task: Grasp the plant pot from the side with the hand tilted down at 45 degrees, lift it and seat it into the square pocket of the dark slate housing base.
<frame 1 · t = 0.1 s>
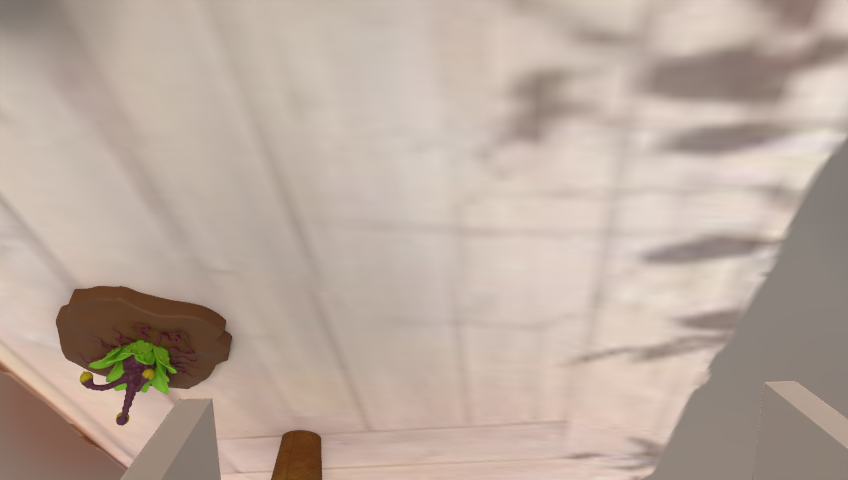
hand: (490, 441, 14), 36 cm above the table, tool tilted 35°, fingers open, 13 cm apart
plant: (148, 332, 77), on the table
disposable coffee cup: (301, 436, 101), on the table
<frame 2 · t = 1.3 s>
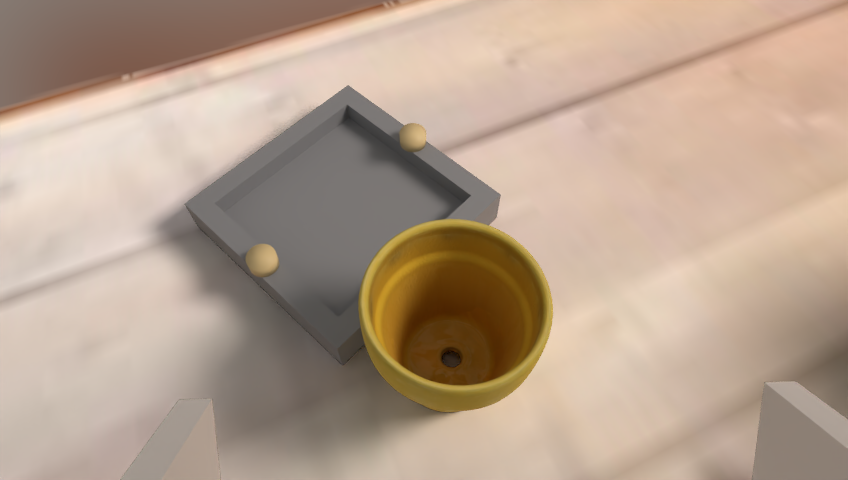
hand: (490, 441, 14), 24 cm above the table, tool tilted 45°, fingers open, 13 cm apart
plant pot: (449, 362, 41), on the table
housing base: (347, 222, 46), on the table
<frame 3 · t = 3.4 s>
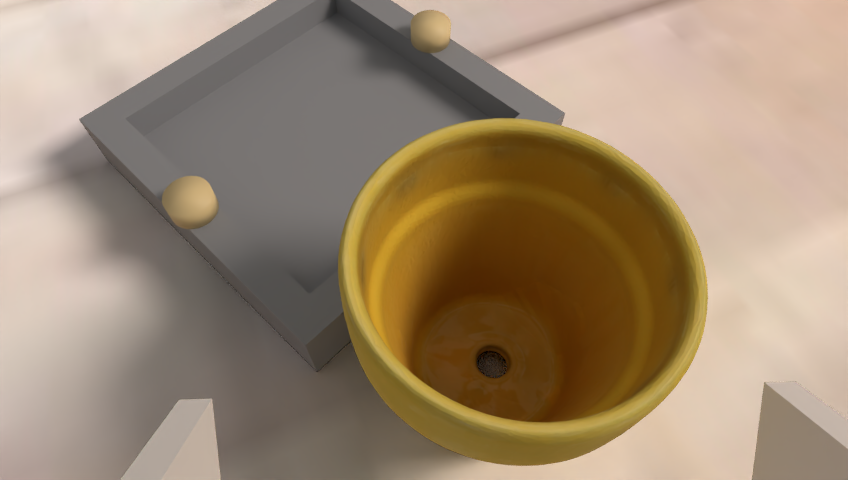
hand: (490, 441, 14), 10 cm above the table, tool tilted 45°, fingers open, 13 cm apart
plant pot: (487, 370, 25), on the table
housing base: (331, 156, 31), on the table
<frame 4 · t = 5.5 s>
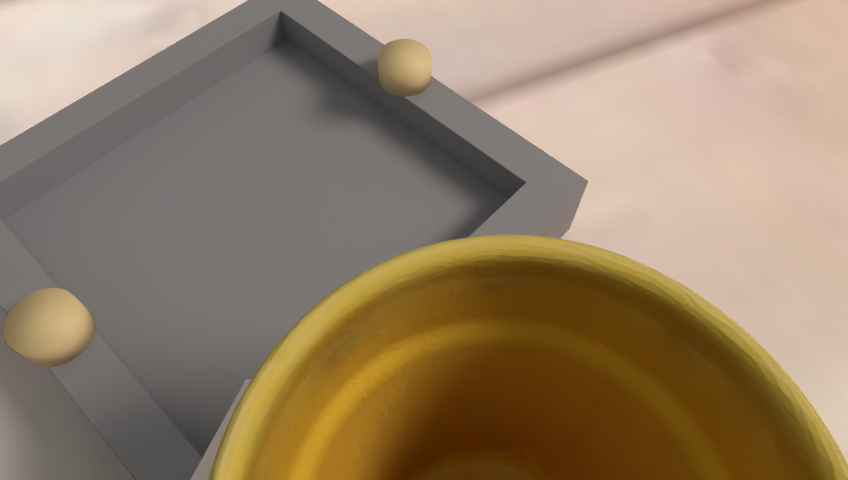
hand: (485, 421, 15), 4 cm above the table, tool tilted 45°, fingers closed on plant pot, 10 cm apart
housing base: (273, 235, 23), on the table
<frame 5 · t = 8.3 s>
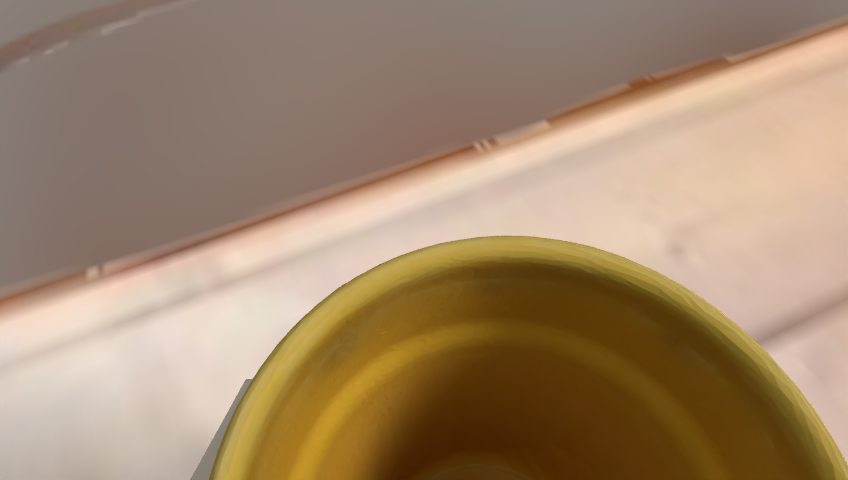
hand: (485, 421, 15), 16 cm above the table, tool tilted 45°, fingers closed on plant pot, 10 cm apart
when the fingers open (7 cm above the table, at t = 10.9 s): plant pot drops 1 cm, resting on housing base.
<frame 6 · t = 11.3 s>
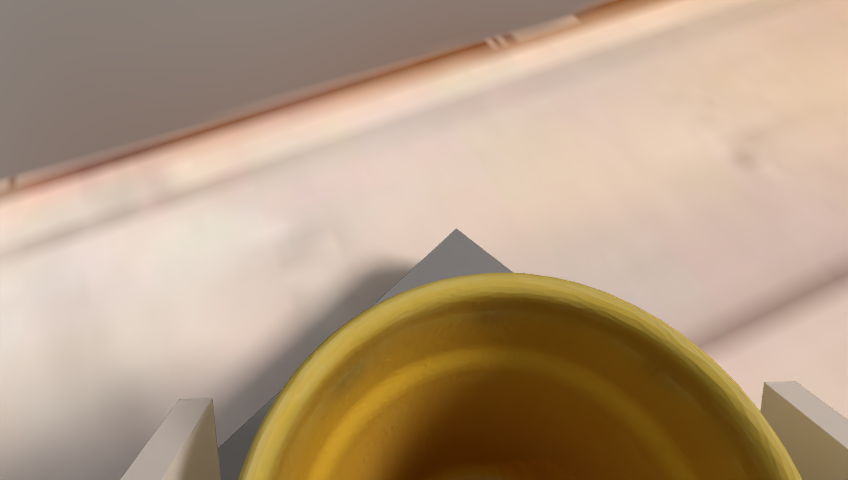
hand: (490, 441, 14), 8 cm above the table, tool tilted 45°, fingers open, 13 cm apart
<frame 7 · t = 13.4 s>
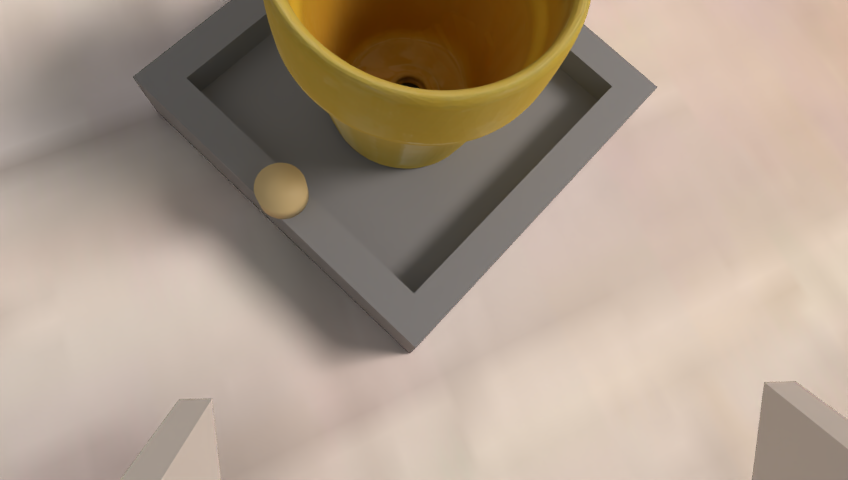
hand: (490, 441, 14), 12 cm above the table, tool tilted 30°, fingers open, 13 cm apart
plant pot: (405, 102, 28), point 1 cm above the table, touching housing base
housing base: (402, 113, 29), on the table
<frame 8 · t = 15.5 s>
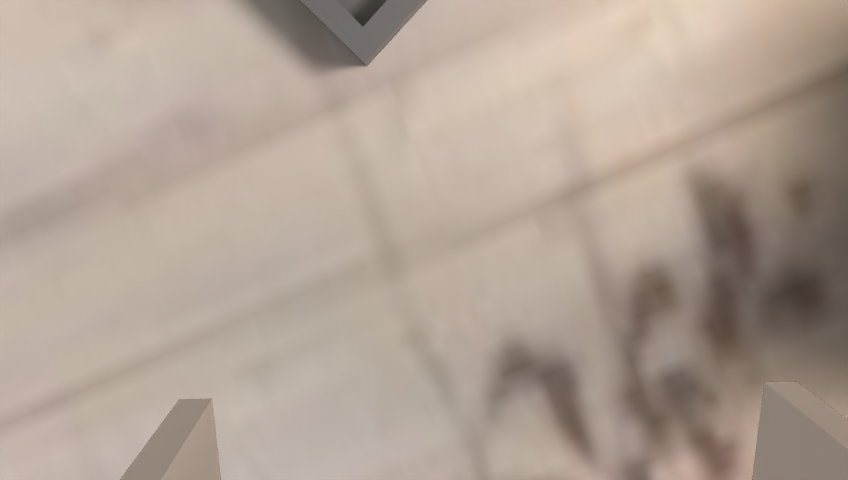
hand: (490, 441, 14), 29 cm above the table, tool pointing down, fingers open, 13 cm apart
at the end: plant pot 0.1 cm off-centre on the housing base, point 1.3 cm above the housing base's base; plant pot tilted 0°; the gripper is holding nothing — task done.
